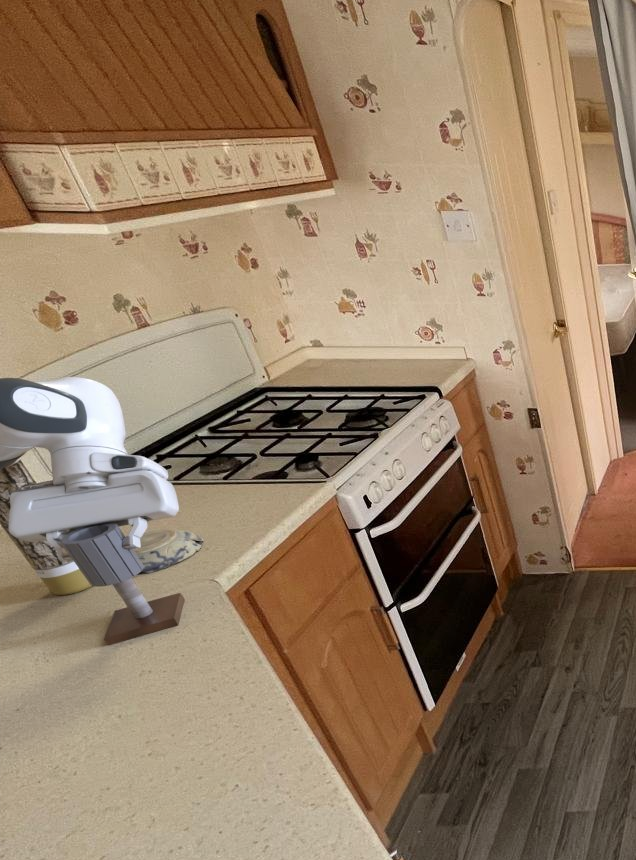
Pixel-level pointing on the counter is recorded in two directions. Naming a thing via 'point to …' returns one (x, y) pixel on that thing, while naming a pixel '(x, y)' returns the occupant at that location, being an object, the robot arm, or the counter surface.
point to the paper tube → (40, 553)
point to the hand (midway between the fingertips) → (100, 554)
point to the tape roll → (102, 554)
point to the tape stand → (142, 613)
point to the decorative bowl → (166, 548)
